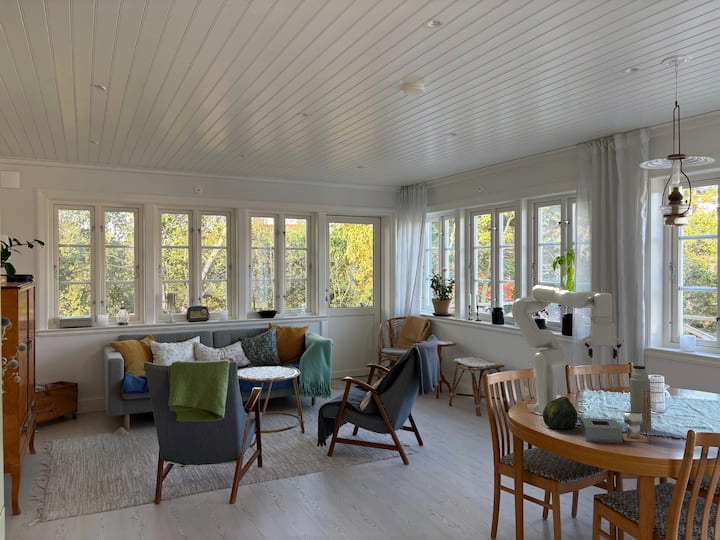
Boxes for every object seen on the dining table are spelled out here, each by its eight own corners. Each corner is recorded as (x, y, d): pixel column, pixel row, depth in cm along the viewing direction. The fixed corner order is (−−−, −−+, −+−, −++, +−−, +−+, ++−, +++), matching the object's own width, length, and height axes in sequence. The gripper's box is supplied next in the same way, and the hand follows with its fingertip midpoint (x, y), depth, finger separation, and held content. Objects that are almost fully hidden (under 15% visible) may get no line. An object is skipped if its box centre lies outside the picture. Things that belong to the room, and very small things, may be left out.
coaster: (624, 440, 221) (624, 440, 221) (619, 434, 230) (619, 433, 230) (648, 442, 219) (648, 441, 219) (642, 435, 227) (642, 434, 227)
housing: (585, 441, 221) (585, 426, 222) (580, 431, 235) (580, 417, 235) (622, 443, 218) (622, 428, 218) (615, 433, 231) (615, 419, 231)
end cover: (626, 439, 222) (625, 413, 222) (622, 434, 228) (622, 409, 228) (644, 440, 220) (643, 414, 220) (640, 435, 227) (639, 410, 227)
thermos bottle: (655, 430, 233) (653, 367, 233) (640, 432, 231) (638, 368, 231) (641, 425, 241) (639, 364, 241) (627, 427, 239) (625, 365, 239)
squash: (532, 412, 248) (547, 392, 239) (558, 409, 254) (573, 390, 245) (547, 439, 238) (564, 419, 229) (574, 435, 244) (590, 416, 235)
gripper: (583, 320, 239) (583, 358, 239) (625, 321, 234) (625, 360, 235) (581, 318, 246) (581, 355, 247) (622, 319, 242) (621, 357, 242)
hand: (602, 357), depth 241 cm, fingers open, 9 cm apart
